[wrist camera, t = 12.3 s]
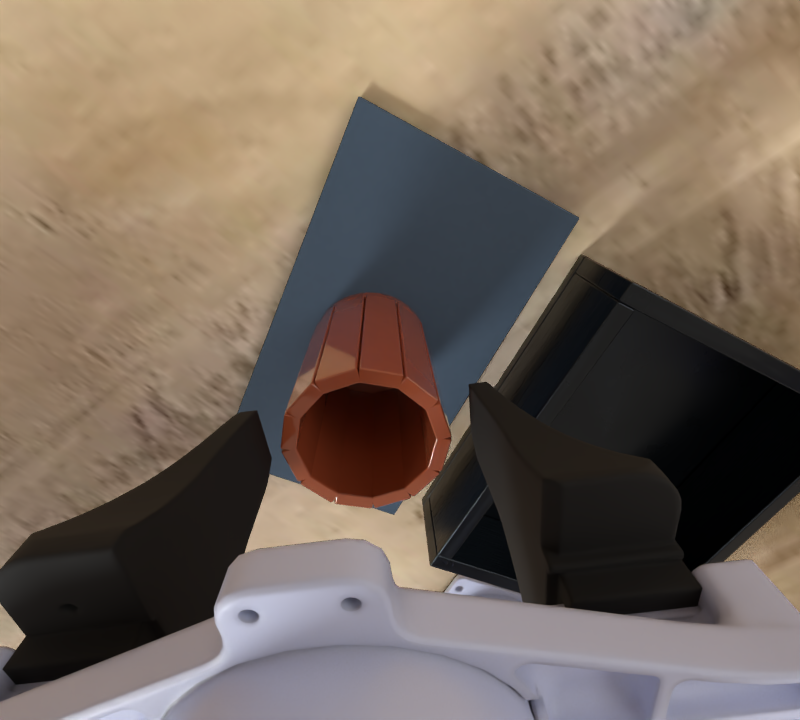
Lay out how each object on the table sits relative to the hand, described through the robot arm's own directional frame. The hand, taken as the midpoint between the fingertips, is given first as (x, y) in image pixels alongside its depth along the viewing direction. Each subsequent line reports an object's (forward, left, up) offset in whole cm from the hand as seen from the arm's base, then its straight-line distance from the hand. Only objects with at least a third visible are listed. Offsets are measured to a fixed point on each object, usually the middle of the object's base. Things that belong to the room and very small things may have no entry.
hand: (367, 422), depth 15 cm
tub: (0, -13, -7) cm, 15 cm away
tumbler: (0, 0, -6) cm, 6 cm away
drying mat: (0, 0, -7) cm, 7 cm away
